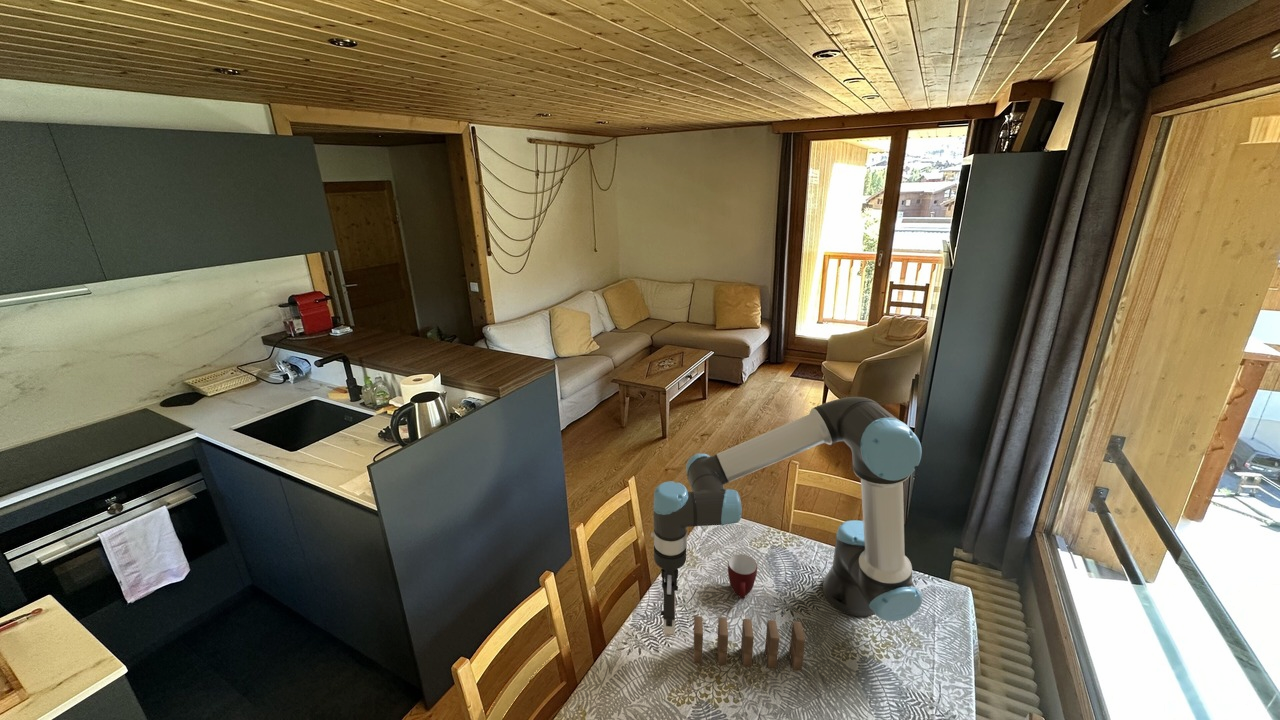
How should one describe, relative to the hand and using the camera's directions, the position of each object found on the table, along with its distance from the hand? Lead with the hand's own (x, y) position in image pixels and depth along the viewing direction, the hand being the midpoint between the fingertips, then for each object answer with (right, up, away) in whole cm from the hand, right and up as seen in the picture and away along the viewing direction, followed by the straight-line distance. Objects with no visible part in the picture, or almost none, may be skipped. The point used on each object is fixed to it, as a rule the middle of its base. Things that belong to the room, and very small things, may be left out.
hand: (669, 622), depth 121 cm
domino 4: (+19, -10, +2) cm, 22 cm away
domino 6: (+31, -10, +1) cm, 33 cm away
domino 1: (0, -1, 0) cm, 1 cm away
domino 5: (+25, -10, +1) cm, 27 cm away
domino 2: (+7, -10, +3) cm, 12 cm away
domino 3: (+13, -10, +2) cm, 17 cm away
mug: (+22, -3, +20) cm, 30 cm away
